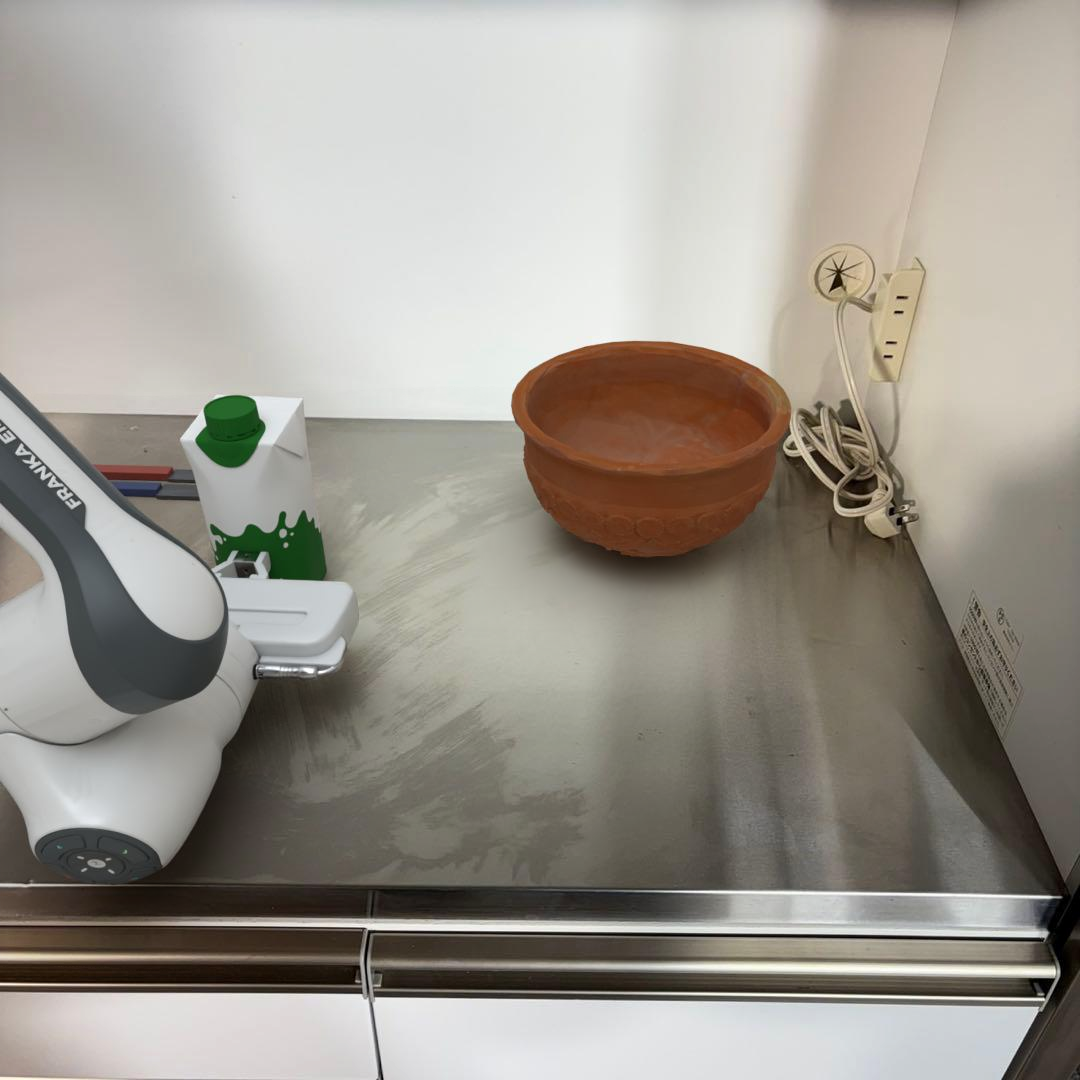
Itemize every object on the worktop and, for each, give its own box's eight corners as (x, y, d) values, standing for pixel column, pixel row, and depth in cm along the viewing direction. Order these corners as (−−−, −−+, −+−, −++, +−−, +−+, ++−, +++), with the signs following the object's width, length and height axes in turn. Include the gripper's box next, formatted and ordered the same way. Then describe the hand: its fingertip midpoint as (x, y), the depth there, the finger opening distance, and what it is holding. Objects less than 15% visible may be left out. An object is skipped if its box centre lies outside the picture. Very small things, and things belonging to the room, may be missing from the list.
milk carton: (214, 620, 85) (162, 418, 73) (249, 559, 92) (207, 366, 80) (312, 627, 84) (275, 424, 72) (339, 564, 91) (310, 370, 80)
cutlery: (72, 496, 101) (69, 489, 100) (94, 470, 105) (91, 462, 105) (242, 501, 100) (240, 494, 100) (257, 474, 104) (255, 467, 104)
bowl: (800, 606, 86) (829, 461, 77) (520, 618, 85) (517, 472, 76) (736, 462, 106) (754, 334, 98) (508, 470, 105) (505, 341, 96)
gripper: (330, 646, 67) (372, 530, 78) (42, 635, 68) (124, 522, 79) (342, 711, 70) (380, 591, 81) (69, 699, 71) (143, 583, 83)
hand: (252, 557), depth 80 cm, fingers closed, pressing on milk carton
